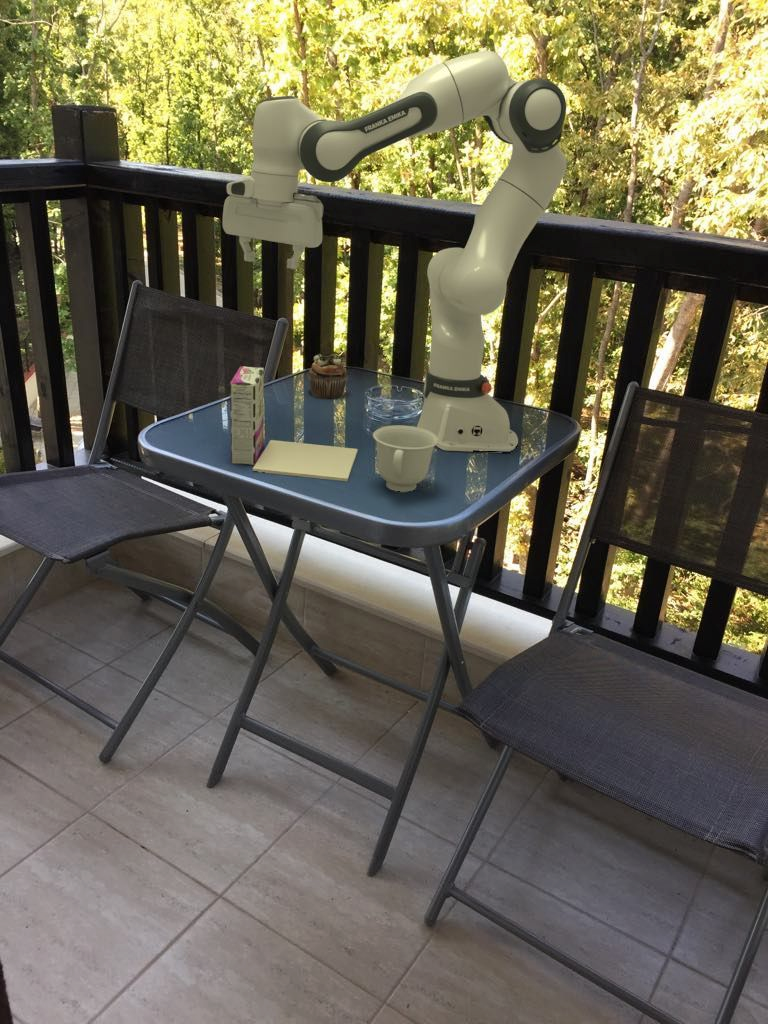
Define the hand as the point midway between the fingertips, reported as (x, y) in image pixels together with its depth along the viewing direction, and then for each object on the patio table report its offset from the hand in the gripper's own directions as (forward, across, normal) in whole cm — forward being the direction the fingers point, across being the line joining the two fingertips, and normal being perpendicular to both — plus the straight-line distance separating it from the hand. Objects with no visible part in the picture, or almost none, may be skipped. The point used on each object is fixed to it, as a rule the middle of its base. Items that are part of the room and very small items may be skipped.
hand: (270, 264), depth 168 cm
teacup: (+34, -36, +13) cm, 52 cm away
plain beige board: (+34, -16, +10) cm, 39 cm away
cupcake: (+34, 0, -32) cm, 47 cm away
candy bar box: (+35, -4, +14) cm, 38 cm away
